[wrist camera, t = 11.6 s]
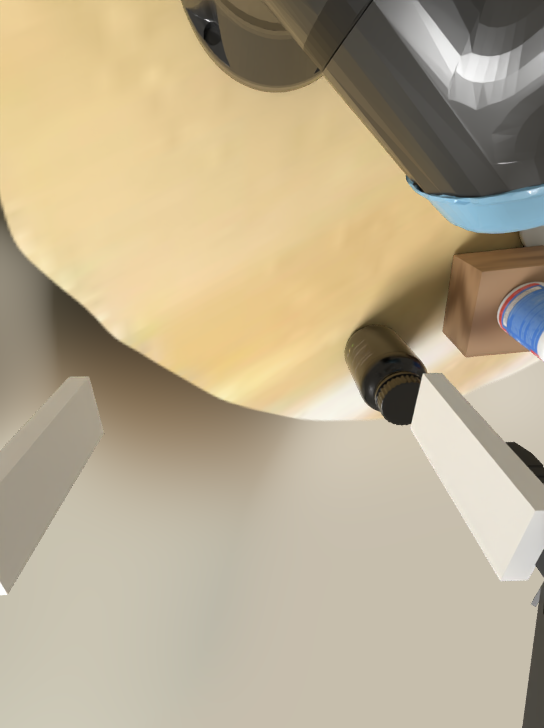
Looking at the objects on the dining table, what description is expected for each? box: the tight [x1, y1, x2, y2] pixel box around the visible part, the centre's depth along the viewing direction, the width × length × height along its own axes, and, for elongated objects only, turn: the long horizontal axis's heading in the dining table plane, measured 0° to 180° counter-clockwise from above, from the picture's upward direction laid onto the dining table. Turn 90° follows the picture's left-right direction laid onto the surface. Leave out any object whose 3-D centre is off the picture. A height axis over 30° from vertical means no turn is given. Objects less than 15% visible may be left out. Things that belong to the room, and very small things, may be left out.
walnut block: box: [443, 245, 544, 357], centre depth 37 cm, size 9×9×6 cm
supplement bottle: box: [345, 325, 427, 425], centre depth 38 cm, size 7×7×12 cm
